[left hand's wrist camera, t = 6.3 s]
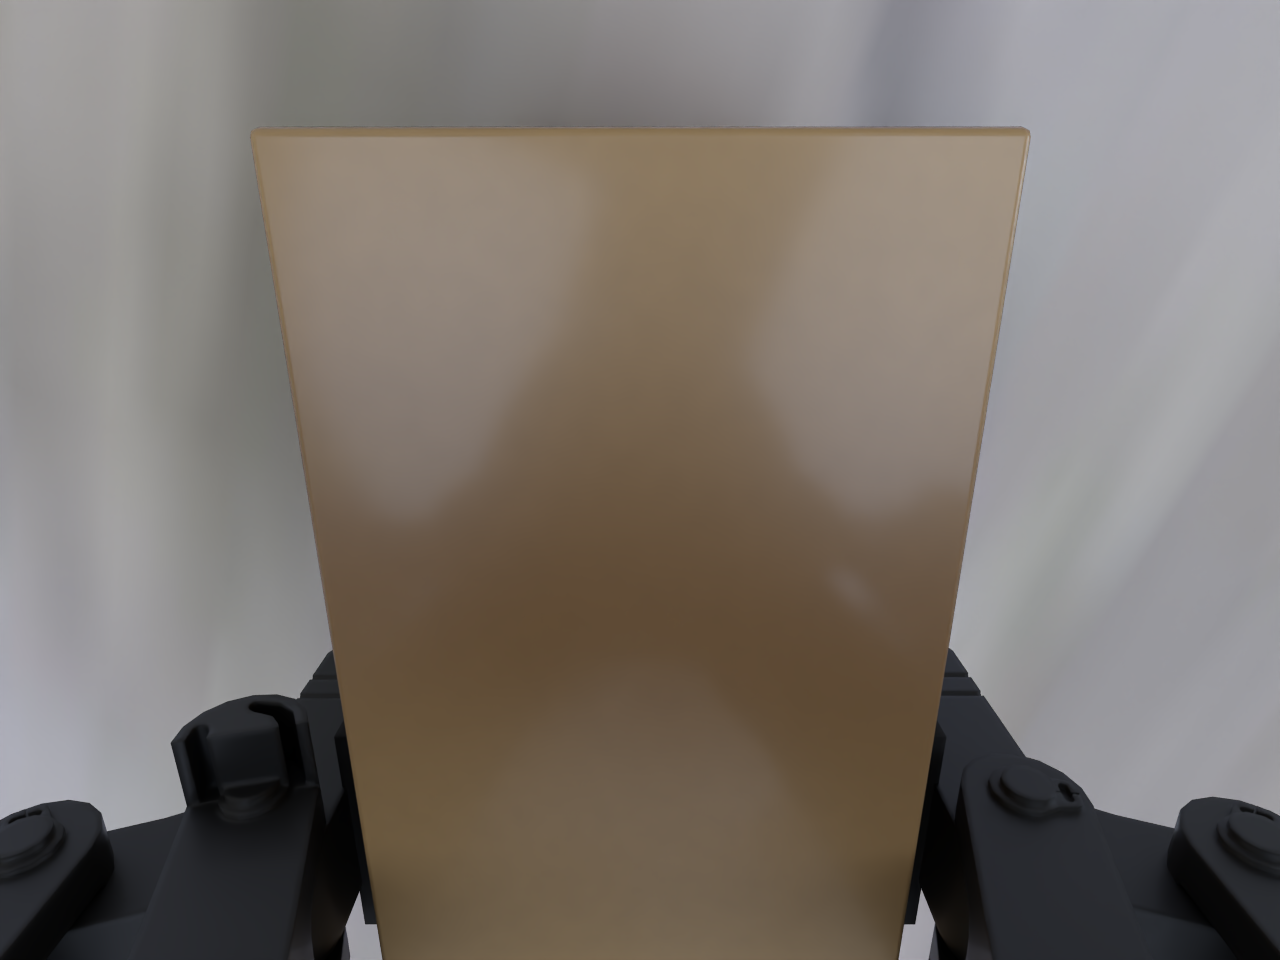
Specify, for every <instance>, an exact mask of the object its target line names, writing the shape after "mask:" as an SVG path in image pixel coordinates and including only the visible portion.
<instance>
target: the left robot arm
mask: <svg viewBox="0 0 1280 960" xmlns="http://www.w3.org/2000/svg"><path fill="white" fill-rule="evenodd" d="M171 746H172V750H173V754H174V758H175V762H176V765H177V769H178V773H179V777H180V781H181V785H182V789H183V793H184V796H185V800H186V804H187V808H186V810H185V812H184V813H181V814H177V815H174V816H171V817H167V818H164V819H159V820H155V821H151V822H146V823H142V824H137V825H133V826H129V827H124V828H120V829H116V830H111V831H107V830H106V827H105V824H104V821H103V817H102V814H101V812H100V811H98V810H97V809H96V808H95V807H94V806H92V805H91V804H90V803H86V802H79V801H73V800H65V801H58V802H50V803H43V804H40V805H37V806H34V807H31V808H28V809H24V810H22V811H19V812H16V813H13V814H11V815H9V816H7V817H5V818H3V819H1V820H0V960H350V952H349V945H348V938H347V933H346V927H345V926H346V923H347V921H348V918H349V916H350V913H351V911H352V908H353V906H354V903H355V901H356V898H357V896H358V893H359V891H360V895H361V901H362V907H363V913H364V919H365V924H377V922H376V916H375V909H374V903H373V897H372V891H371V885H370V878H369V872H368V866H367V860H366V854H365V847H364V841H363V835H362V829H361V822H360V816H359V810H358V804H357V798H356V791H355V785H354V779H353V773H352V766H351V760H350V754H349V748H348V742H347V735H346V729H345V723H344V717H343V711H342V704H341V698H340V692H339V686H338V679H337V673H336V667H335V661H334V655H333V650H332V651H331V652H329V653H328V654H327V655H326V657H325V658H324V660H323V661H322V663H321V664H320V666H319V667H318V669H317V670H316V672H315V673H314V674H313V679H312V680H309V682H308V683H307V685H306V686H305V688H304V689H303V691H302V692H301V694H300V698H297V699H293V698H289V697H285V696H281V695H277V694H276V695H253V696H248V697H244V698H240V699H236V700H232V701H228V702H226V703H223V704H221V705H219V706H217V707H214V708H212V709H210V710H208V711H205V712H203V713H202V714H200V715H199V716H198V717H196V718H195V719H193V720H192V721H191V722H189V723H188V724H186V725H185V726H184V727H183V728H182V729H181V730H180V732H179V733H178V734H177V735H176V737H175V738H174V739H173V741H172V742H171ZM921 889H922V891H923V894H924V896H925V899H926V901H927V903H928V906H929V908H930V911H931V913H932V916H933V918H934V921H935V927H934V933H933V938H932V944H931V949H930V955H929V960H1280V816H1279V815H1277V814H1275V813H1273V812H1271V811H1269V810H1266V809H1263V808H1261V807H1258V806H1254V805H1252V804H1248V803H1246V802H1243V801H1240V800H1232V799H1225V798H1218V797H1208V798H1201V799H1195V800H1191V801H1190V802H1189V803H1188V804H1187V805H1185V806H1184V807H1183V808H1182V809H1181V810H1180V813H1179V816H1178V819H1177V822H1176V826H1175V828H1170V827H1166V826H1161V825H1157V824H1153V823H1148V822H1144V821H1139V820H1135V819H1131V818H1126V817H1122V816H1117V815H1114V814H1110V813H1107V812H1104V811H1100V810H1097V809H1094V806H1093V805H1092V803H1091V802H1090V800H1089V799H1088V797H1087V796H1086V794H1085V792H1084V791H1083V789H1082V788H1081V787H1080V786H1078V785H1077V784H1076V783H1075V782H1073V781H1072V780H1071V779H1070V778H1069V777H1067V776H1066V775H1065V774H1064V773H1062V772H1060V771H1058V770H1056V769H1054V768H1052V767H1050V766H1049V765H1047V764H1045V763H1043V762H1041V761H1038V760H1034V759H1031V758H1027V757H1025V755H1024V754H1023V752H1022V751H1021V749H1020V748H1019V747H1018V745H1017V744H1016V742H1015V741H1014V739H1013V738H1012V736H1011V735H1010V733H1009V732H1008V730H1007V729H1006V728H1005V726H1004V725H1003V723H1002V722H1001V720H1000V719H999V717H998V716H997V714H996V713H995V712H994V710H993V709H992V707H991V706H990V704H989V703H988V701H987V700H986V698H985V697H984V696H981V694H980V690H979V688H978V687H977V685H976V684H975V682H974V681H973V680H972V678H971V677H968V672H967V671H966V669H965V668H964V666H963V665H962V663H961V662H960V661H959V659H958V658H957V656H956V655H955V653H954V652H953V651H952V650H951V649H949V648H948V654H947V660H946V666H945V672H944V678H943V685H942V691H941V697H940V703H939V710H938V716H937V722H936V728H935V734H934V741H933V747H932V753H931V759H930V765H929V772H928V778H927V784H926V790H925V797H924V803H923V809H922V815H921V821H920V828H919V834H918V840H917V846H916V853H915V859H914V865H913V871H912V877H911V884H910V890H909V896H908V902H907V908H906V915H905V921H904V924H915V922H916V916H917V910H918V904H919V898H920V892H921Z"/></svg>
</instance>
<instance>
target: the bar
mask: <svg viewBox="0 0 1280 960" xmlns="http://www.w3.org/2000/svg"><path fill="white" fill-rule="evenodd" d="M250 139H251V145H252V151H253V157H254V163H255V170H256V176H257V182H258V188H259V195H260V201H261V207H262V213H263V219H264V226H265V232H266V238H267V244H268V251H269V257H270V263H271V269H272V275H273V282H274V288H275V294H276V300H277V306H278V313H279V319H280V325H281V331H282V338H283V344H284V350H285V356H286V362H287V369H288V375H289V381H290V387H291V393H292V400H293V406H294V412H295V418H296V425H297V431H298V437H299V443H300V449H301V456H302V462H303V468H304V474H305V481H306V487H307V493H308V499H309V505H310V512H311V518H312V524H313V530H314V536H315V543H316V549H317V555H318V561H319V568H320V574H321V580H322V586H323V592H324V599H325V605H326V611H327V617H328V623H329V630H330V636H331V642H332V648H333V655H334V661H335V667H336V673H337V679H338V686H339V692H340V698H341V704H342V711H343V717H344V723H345V729H346V735H347V742H348V748H349V754H350V760H351V766H352V773H353V779H354V785H355V791H356V798H357V804H358V810H359V816H360V822H361V829H362V835H363V841H364V847H365V854H366V860H367V866H368V872H369V878H370V885H371V891H372V897H373V903H374V909H375V916H376V922H377V928H378V934H379V941H380V947H381V953H382V959H383V960H898V958H899V952H900V946H901V940H902V933H903V927H904V921H905V915H906V908H907V902H908V896H909V890H910V884H911V877H912V871H913V865H914V859H915V853H916V846H917V840H918V834H919V828H920V821H921V815H922V809H923V803H924V797H925V790H926V784H927V778H928V772H929V765H930V759H931V753H932V747H933V741H934V734H935V728H936V722H937V716H938V710H939V703H940V697H941V691H942V685H943V678H944V672H945V666H946V660H947V654H948V647H949V641H950V635H951V629H952V622H953V616H954V610H955V604H956V598H957V591H958V585H959V579H960V573H961V567H962V560H963V554H964V548H965V542H966V535H967V529H968V523H969V517H970V511H971V504H972V498H973V492H974V486H975V479H976V473H977V467H978V461H979V455H980V448H981V442H982V436H983V430H984V424H985V417H986V411H987V405H988V399H989V392H990V386H991V380H992V374H993V368H994V361H995V355H996V349H997V343H998V336H999V330H1000V324H1001V318H1002V312H1003V305H1004V299H1005V293H1006V287H1007V281H1008V274H1009V268H1010V262H1011V256H1012V249H1013V243H1014V237H1015V231H1016V225H1017V218H1018V212H1019V206H1020V200H1021V193H1022V187H1023V181H1024V175H1025V169H1026V162H1027V156H1028V150H1029V144H1030V131H1029V130H1027V129H1025V128H1023V127H258V128H256V129H254V130H252V131H251V136H250Z"/></svg>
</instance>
